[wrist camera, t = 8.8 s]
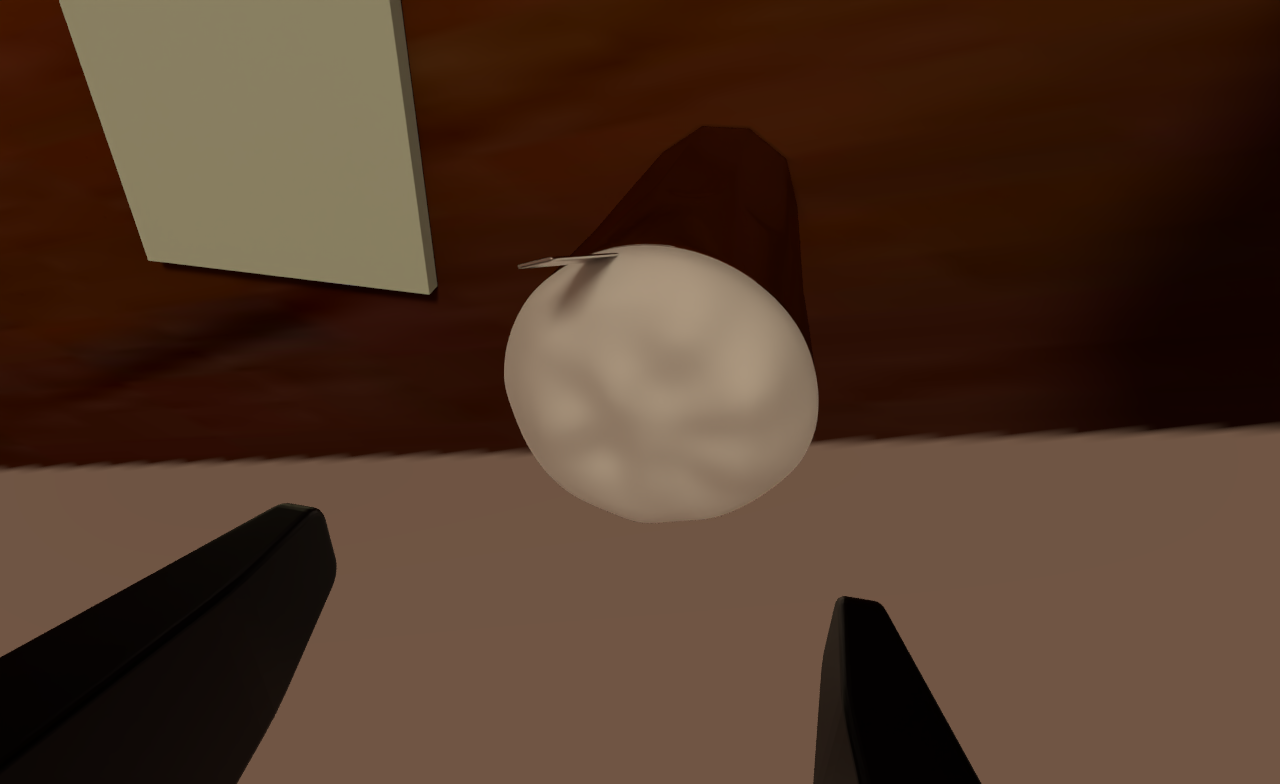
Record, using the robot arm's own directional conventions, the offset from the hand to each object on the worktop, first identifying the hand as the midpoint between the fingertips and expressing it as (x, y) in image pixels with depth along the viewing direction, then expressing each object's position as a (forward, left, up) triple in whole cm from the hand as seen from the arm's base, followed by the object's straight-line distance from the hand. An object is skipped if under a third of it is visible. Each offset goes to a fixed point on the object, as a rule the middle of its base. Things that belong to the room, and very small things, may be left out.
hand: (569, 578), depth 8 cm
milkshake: (0, 0, -12) cm, 12 cm away
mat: (+11, -1, -12) cm, 16 cm away
